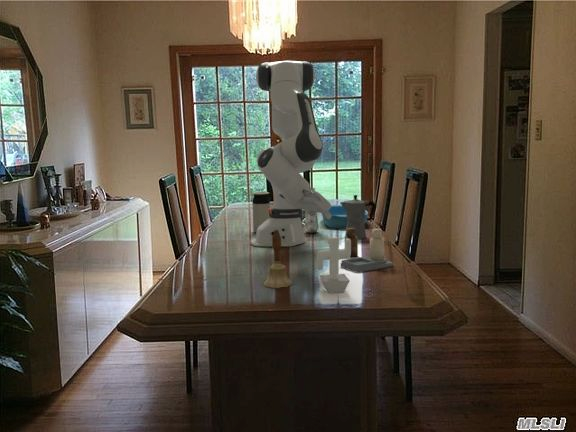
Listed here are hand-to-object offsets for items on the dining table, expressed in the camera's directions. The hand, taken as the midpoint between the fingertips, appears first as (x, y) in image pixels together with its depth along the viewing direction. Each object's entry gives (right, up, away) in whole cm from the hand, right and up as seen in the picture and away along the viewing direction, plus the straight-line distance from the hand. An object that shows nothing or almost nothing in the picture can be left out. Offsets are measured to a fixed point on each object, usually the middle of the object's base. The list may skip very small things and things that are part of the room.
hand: (321, 216), depth 175 cm
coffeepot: (+18, -9, +44) cm, 48 cm away
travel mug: (-23, -7, +63) cm, 68 cm away
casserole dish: (+16, -4, +81) cm, 83 cm away
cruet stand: (+14, -16, -7) cm, 23 cm away
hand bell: (-14, -20, -25) cm, 35 cm away
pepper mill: (+11, -14, +8) cm, 20 cm away
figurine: (+1, -21, -33) cm, 39 cm away
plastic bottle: (-1, -8, +57) cm, 58 cm away
